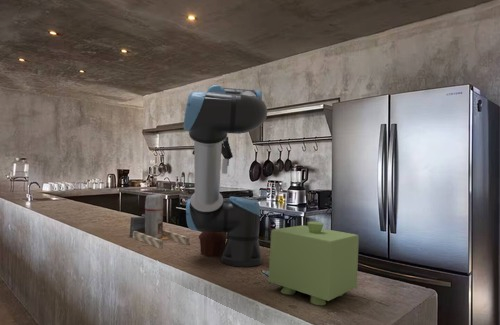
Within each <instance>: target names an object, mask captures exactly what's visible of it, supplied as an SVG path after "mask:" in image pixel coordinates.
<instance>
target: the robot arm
mask: <svg viewBox="0 0 500 325" xmlns="http://www.w3.org/2000/svg"><path fill="white" fill-rule="evenodd" d="M262 94H263V93H262V91H261V90H257V89H243V88H229V87H223V86H221V85H219V84H214V85H212V86H210V87H208V89H207V91H206V90H204V91H191V92H190V93H189V94H188V97H187V101H186V105H185V111H184V118H183V119H184V120H183V131H186V132H188V133H189V134H188V135H189V138H190V139H191V140H192V141H193V144H194V148H193V151H192V155H194V159H193V160H194V161H193V162H194V193H193V194H192V195H191V197H190V198H187V201H186V206H185V213H186V214H185V217H186V218H185V219H186V224H187V227H188V229H189V230H190V231H193V232H194V231H196V232H203V231H210V232H224V233H227V235H226V236H227V239H226V243H225V246H224V249H223V251H222V254H221V256H220V261H221V262H222V263H223V264H225V265H228V266H233V267H243V268H244V267H245V268H247V267H249V268H250V267H256V266H259V265H261V264H262V263H263V254H262V250H261V247H260V242H259V237H260V236H259V234H260V219H261V218H260V216H261V204H260V203H259V202H258V201H256V200H253V199H250V198H249V199H248V198H245V197H241V196H240V197H239V196H229V198H228V199H227V200H226V199H224V198H223V194H222V193H220V190H221V188H220V187H221V186H220V185H221V174H225V175H226V174H228V167H229V166H230V165H229V162H230V160H231V159H232V158H234V155H233V152H232V149H231V146H230V142H229V136H228V134H237V135H239V134H240V135H241V134H246V133H249V132H252V131H254V130H256V129H258V128H259V127H261V126H262V125H263V123H264V122H265V121H266V119H267V116H268V107H267V105H266V103H265V101H264V100H262V99H263V95H262ZM222 157H223V158H222Z"/></svg>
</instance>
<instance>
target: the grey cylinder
mask: <svg viewBox="0 0 500 325" xmlns="http://www.w3.org/2000/svg"><path fill="white" fill-rule="evenodd" d="M144 204H145V205H144V217H145V234H146V235H149V236H151V237H154V238H161V237H162V231H163V230H164V229H163V227H164V226H163V224H164V196H163V194H161V193H157V194H148V195H146V197H145V202H144Z"/></svg>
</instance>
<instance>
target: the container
mask: <svg viewBox="0 0 500 325" xmlns="http://www.w3.org/2000/svg"><path fill="white" fill-rule="evenodd" d="M306 224H307V225H303V224H302V225H296V226H289V227H282V228H274V229H271V230H270V231H271V232H270V250H269V264H268V267H269V268H268V282H270V283H272V284H275V285H278V286H281V287H283V288H282V289H281V290H280V293H282V294H284V295H294V294H295V293H297V292H300V293H303V294H306V295H309V296H310V303H311V304H313V305H316V306H317V305H318V306H324V305H326V304H327V301H328V302H329V301H331V300H333V299H335V298H337V297H342V296H344V294H346V293H347V292H349V291H352V290H353V289H355V288H357V286H358V267H359V265H358V263H359V244H360V243H359V238H360V236H359V234H355V233H350V232H345V231H338V230H331V229H326V228H324V223H323V222H321V221H313V220H312V221H308V222H307V223H306ZM296 291H297V292H296Z"/></svg>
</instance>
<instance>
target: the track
mask: <svg viewBox="0 0 500 325" xmlns="http://www.w3.org/2000/svg"><path fill="white" fill-rule="evenodd" d="M129 224H130V225H129V238H132V239H134V240H137V241H140V242H142V243H145V244H147V245H150V246H152V247H155V248H157V249H163V247H164V241H166V240H170V239H171V241H174V242H177V243H180V244H182V245H185V246H186V245H190V236H186V235H182V234H179V233H177V232H173V231H170V230H166V229H163V231H162V237H161V238H154V237H151V236H149V235H146V234H145V216H130V223H129Z"/></svg>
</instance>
